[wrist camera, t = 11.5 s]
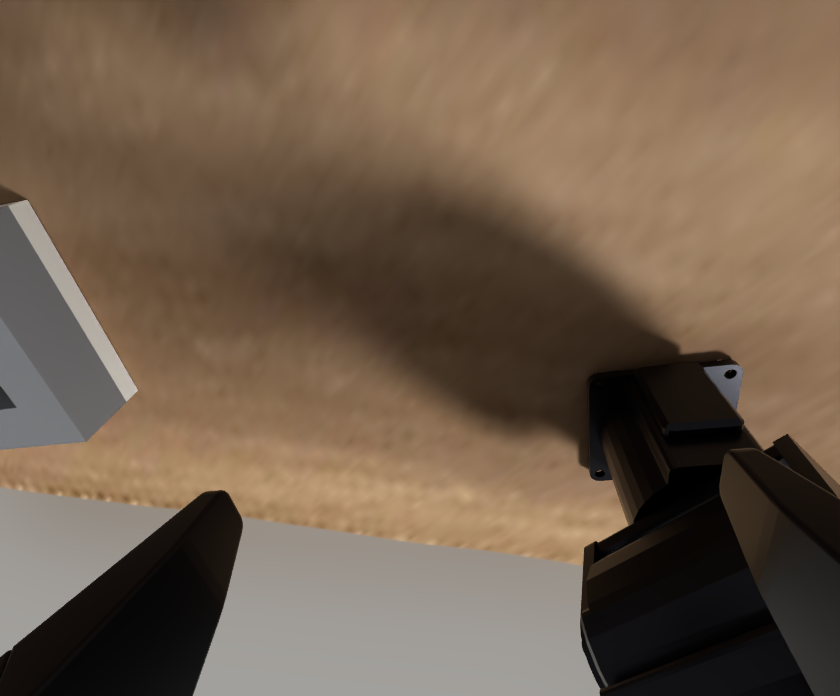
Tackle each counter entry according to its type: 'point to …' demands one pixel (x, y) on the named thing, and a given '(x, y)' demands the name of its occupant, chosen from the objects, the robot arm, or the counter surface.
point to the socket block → (49, 344)
